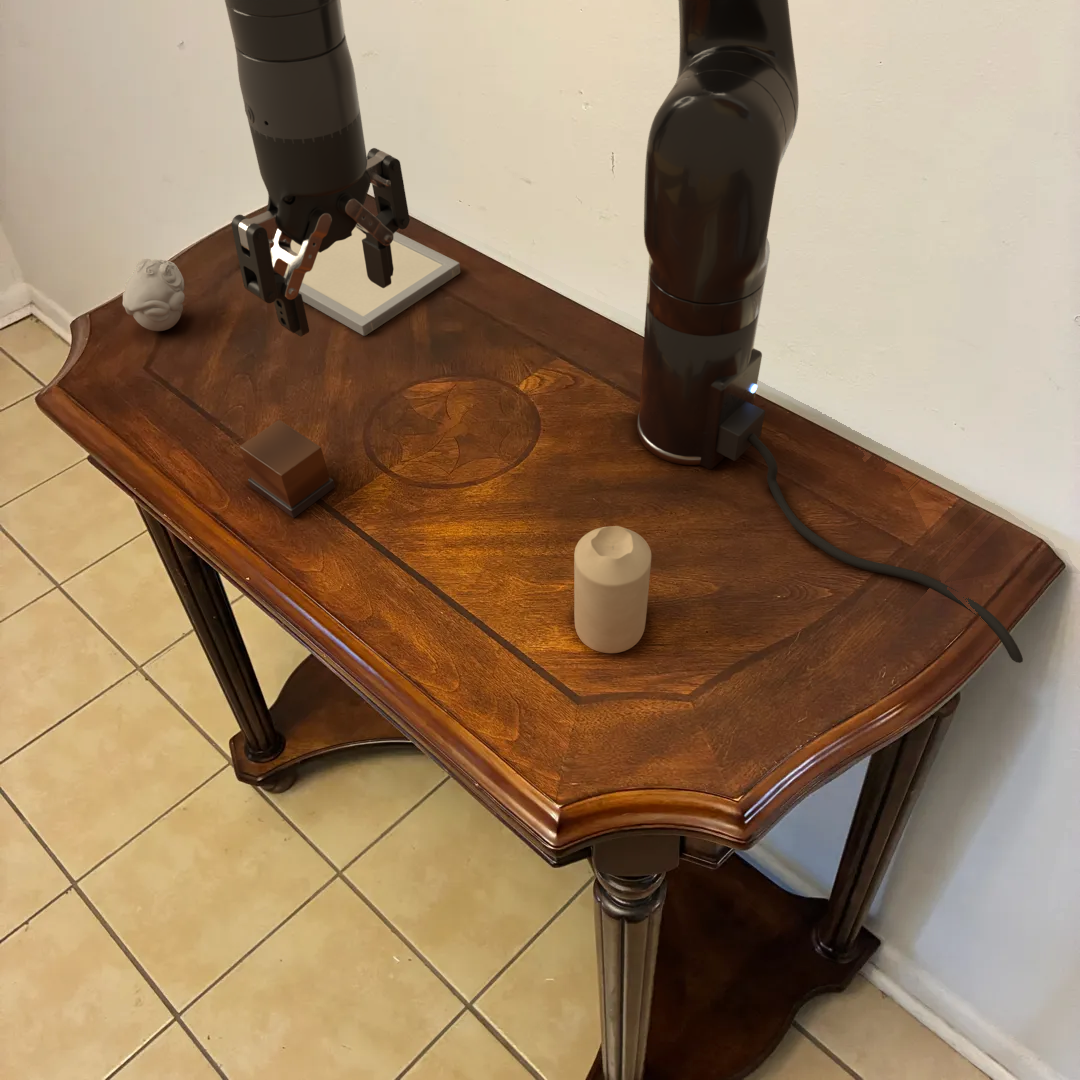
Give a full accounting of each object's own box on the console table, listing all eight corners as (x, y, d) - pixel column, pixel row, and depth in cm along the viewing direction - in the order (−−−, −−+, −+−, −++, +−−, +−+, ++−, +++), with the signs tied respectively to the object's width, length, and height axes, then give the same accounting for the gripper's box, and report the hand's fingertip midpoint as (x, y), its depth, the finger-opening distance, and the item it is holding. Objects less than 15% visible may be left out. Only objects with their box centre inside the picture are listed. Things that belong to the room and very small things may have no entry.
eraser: (335, 487, 88) (324, 446, 84) (293, 518, 85) (280, 478, 82) (291, 457, 90) (279, 416, 87) (250, 487, 88) (235, 446, 84)
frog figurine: (209, 312, 105) (189, 255, 100) (168, 350, 101) (145, 293, 96) (163, 299, 107) (141, 243, 102) (120, 337, 103) (96, 279, 98)
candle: (646, 654, 75) (654, 571, 68) (574, 654, 75) (574, 571, 68) (643, 597, 79) (650, 512, 71) (574, 597, 79) (574, 512, 71)
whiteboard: (460, 272, 109) (459, 262, 108) (364, 336, 102) (362, 326, 101) (339, 212, 118) (337, 202, 117) (242, 267, 111) (239, 257, 110)
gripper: (251, 167, 62) (299, 369, 74) (418, 88, 69) (437, 285, 81) (181, 127, 65) (238, 327, 77) (347, 55, 72) (375, 250, 84)
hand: (340, 306), depth 79 cm, fingers open, 8 cm apart
